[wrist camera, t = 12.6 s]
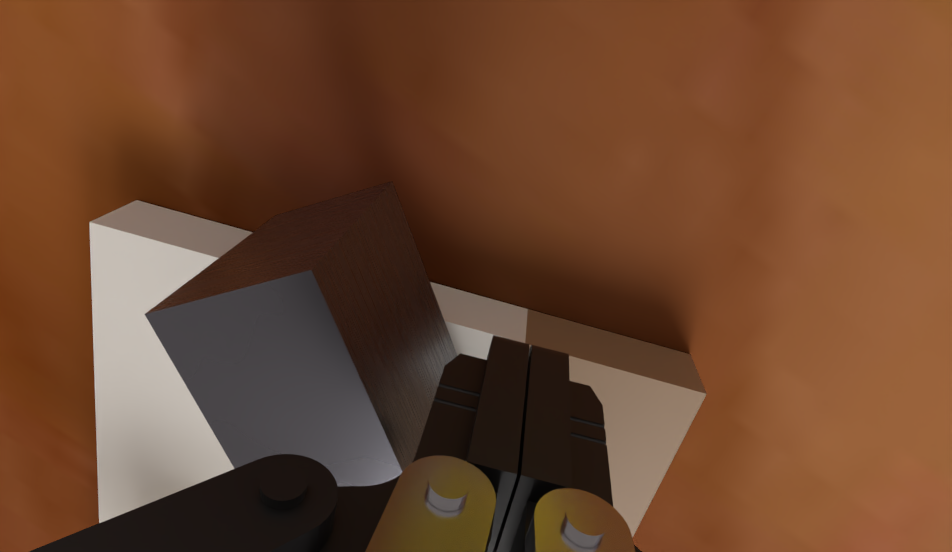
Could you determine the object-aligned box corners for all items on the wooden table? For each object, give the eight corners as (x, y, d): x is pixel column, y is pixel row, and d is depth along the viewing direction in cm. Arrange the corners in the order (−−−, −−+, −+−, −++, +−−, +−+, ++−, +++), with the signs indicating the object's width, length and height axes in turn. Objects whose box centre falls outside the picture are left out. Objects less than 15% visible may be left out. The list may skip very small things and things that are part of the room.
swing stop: (534, 561, 18) (529, 752, 13) (440, 574, 18) (404, 760, 14) (392, 181, 13) (311, 269, 9) (275, 215, 14) (144, 314, 10)
